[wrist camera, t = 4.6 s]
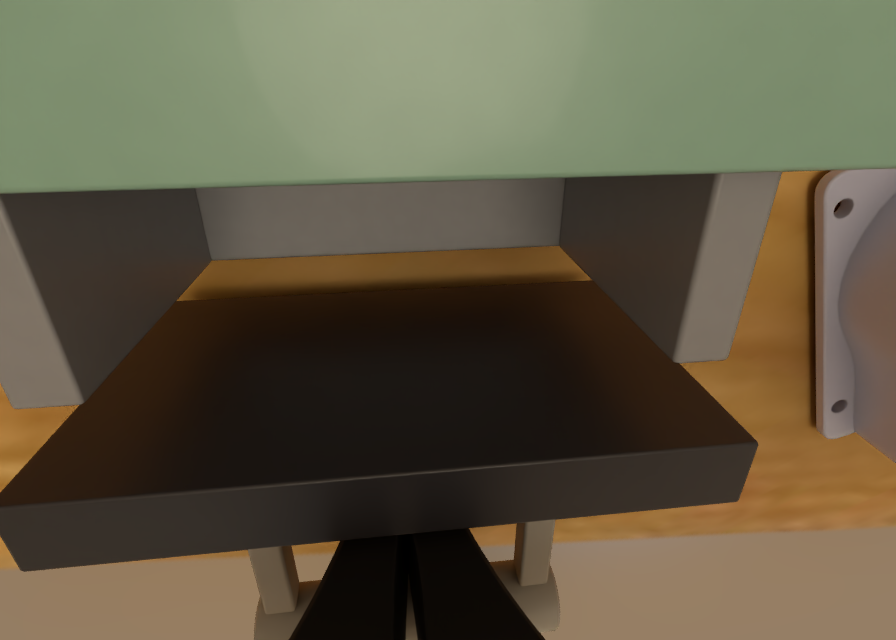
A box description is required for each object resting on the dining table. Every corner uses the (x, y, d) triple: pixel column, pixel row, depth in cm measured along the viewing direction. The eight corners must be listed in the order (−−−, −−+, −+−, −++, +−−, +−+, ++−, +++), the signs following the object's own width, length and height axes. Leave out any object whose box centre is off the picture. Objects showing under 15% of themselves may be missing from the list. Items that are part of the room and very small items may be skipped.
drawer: (572, 455, 15) (677, 674, 10) (224, 485, 14) (124, 749, 9) (678, -305, 8) (1320, -1121, 3) (-12, -356, 7) (-1443, -1884, 2)
